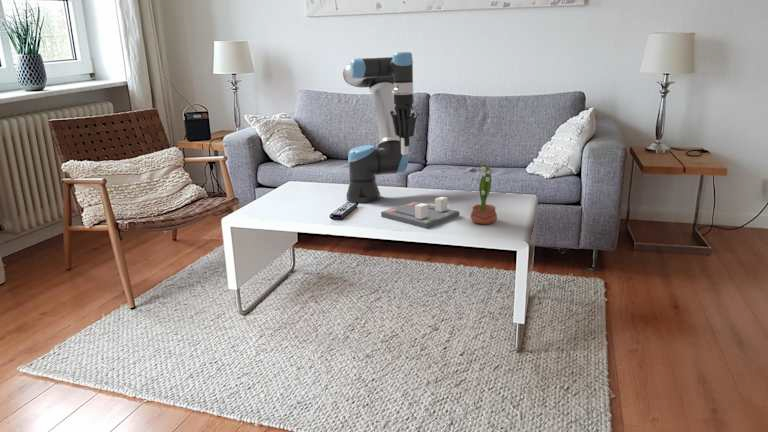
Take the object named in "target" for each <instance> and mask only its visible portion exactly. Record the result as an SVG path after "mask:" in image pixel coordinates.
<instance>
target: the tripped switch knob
mask: <svg viewBox="0 0 768 432" xmlns="http://www.w3.org/2000/svg"><path fill="white" fill-rule="evenodd" d="M420 203H421V204H418V205H415V218H418V219H423V218H426V217H428V205H429V204H428V203H423V202H420Z"/></svg>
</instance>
